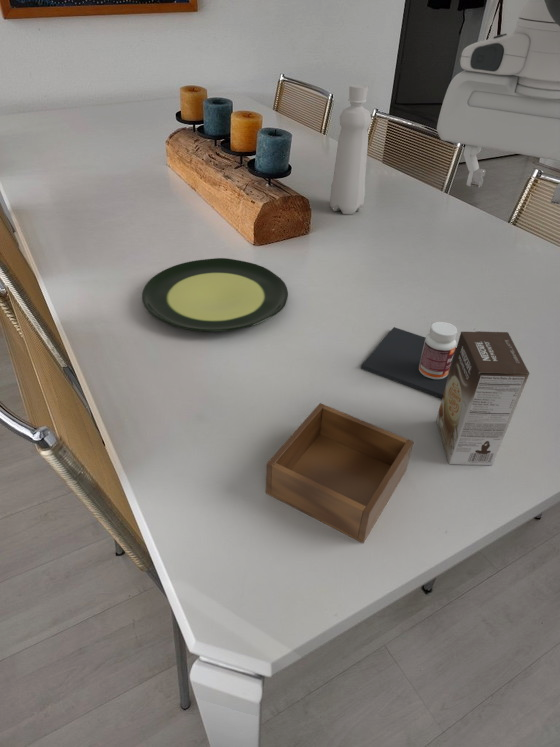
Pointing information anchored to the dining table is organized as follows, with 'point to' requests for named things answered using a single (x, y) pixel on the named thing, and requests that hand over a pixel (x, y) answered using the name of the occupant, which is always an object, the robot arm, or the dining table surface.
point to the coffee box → (480, 397)
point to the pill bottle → (438, 350)
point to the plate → (215, 295)
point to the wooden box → (339, 470)
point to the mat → (403, 362)
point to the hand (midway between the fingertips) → (514, 194)
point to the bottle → (351, 154)
